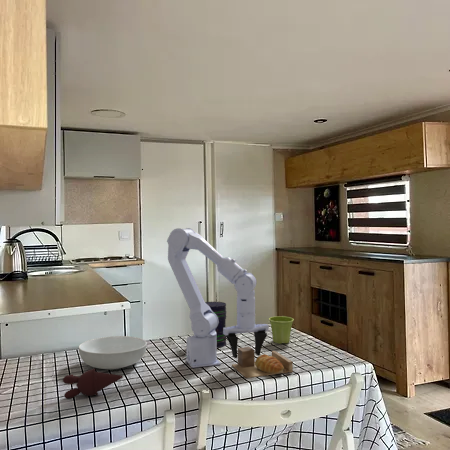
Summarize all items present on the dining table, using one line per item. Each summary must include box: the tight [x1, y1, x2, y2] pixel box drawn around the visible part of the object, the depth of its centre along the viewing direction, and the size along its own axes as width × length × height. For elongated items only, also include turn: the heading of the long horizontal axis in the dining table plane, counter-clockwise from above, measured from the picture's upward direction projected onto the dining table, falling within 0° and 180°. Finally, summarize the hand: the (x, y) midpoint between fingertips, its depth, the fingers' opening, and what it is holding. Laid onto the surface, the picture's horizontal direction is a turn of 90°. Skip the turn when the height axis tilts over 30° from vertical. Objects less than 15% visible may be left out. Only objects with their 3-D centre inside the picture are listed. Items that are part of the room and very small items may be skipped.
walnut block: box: [237, 346, 256, 368], centre depth 136 cm, size 4×4×5 cm
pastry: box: [255, 353, 284, 375], centre depth 131 cm, size 9×7×4 cm
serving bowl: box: [78, 335, 148, 371], centre depth 138 cm, size 21×21×7 cm
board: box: [231, 350, 294, 379], centre depth 133 cm, size 15×12×3 cm
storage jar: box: [205, 301, 227, 348], centre depth 161 cm, size 10×10×15 cm
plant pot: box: [268, 315, 295, 345], centre depth 164 cm, size 9×9×9 cm
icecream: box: [62, 367, 124, 400], centre depth 114 cm, size 7×7×15 cm
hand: (246, 355), depth 136 cm, fingers open, 7 cm apart
